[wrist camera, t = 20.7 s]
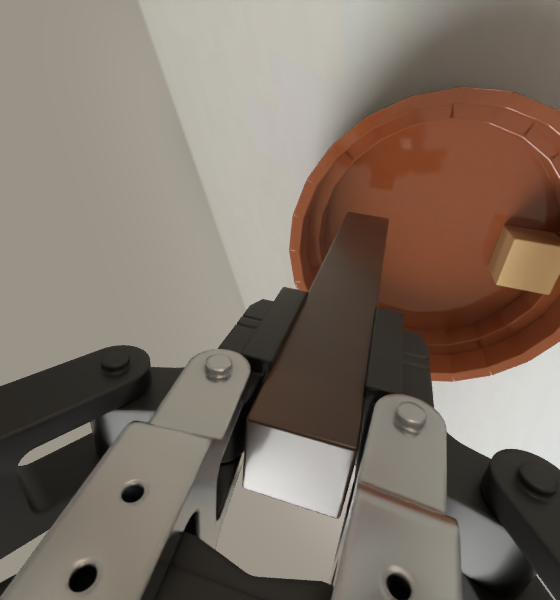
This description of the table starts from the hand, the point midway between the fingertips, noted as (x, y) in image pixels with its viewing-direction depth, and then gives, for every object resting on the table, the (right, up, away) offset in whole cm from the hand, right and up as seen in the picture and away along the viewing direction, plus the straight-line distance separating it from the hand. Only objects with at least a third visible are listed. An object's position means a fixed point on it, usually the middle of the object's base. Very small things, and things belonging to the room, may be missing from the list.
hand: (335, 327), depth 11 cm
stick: (+2, +4, +8) cm, 9 cm away
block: (+14, +4, +14) cm, 20 cm away
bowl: (+9, +5, +15) cm, 19 cm away
